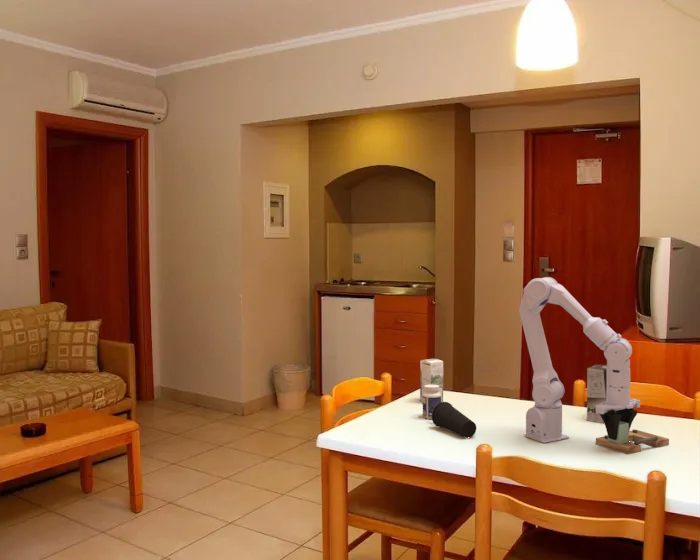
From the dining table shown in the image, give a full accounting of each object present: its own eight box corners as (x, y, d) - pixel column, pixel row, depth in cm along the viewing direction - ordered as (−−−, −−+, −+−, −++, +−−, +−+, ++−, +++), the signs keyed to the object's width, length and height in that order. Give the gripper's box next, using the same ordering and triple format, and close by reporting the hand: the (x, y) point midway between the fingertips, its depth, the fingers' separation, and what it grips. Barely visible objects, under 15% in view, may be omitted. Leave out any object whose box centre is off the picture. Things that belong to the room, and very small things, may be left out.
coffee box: (608, 424, 192) (608, 369, 191) (586, 420, 195) (586, 367, 195) (616, 417, 199) (616, 365, 198) (595, 414, 203) (595, 363, 202)
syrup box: (432, 399, 226) (432, 358, 226) (443, 402, 221) (443, 360, 221) (419, 401, 223) (419, 359, 223) (430, 404, 218) (430, 362, 218)
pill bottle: (444, 416, 202) (444, 384, 202) (436, 420, 198) (436, 388, 197) (427, 414, 206) (427, 383, 205) (419, 418, 201) (419, 386, 200)
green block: (619, 444, 166) (619, 424, 166) (607, 440, 169) (607, 421, 169) (628, 442, 168) (628, 423, 168) (616, 438, 171) (617, 420, 171)
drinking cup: (459, 447, 178) (423, 423, 196) (482, 437, 181) (444, 414, 199) (455, 422, 176) (418, 400, 194) (478, 412, 179) (439, 392, 197)
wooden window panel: (627, 454, 163) (627, 444, 163) (595, 444, 172) (595, 434, 172) (668, 444, 171) (669, 434, 170) (636, 435, 179) (636, 426, 179)
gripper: (611, 391, 161) (611, 445, 162) (650, 385, 168) (649, 437, 168) (589, 386, 167) (588, 438, 168) (627, 380, 174) (626, 430, 175)
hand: (617, 437), depth 168 cm, fingers closed on green block, 4 cm apart
